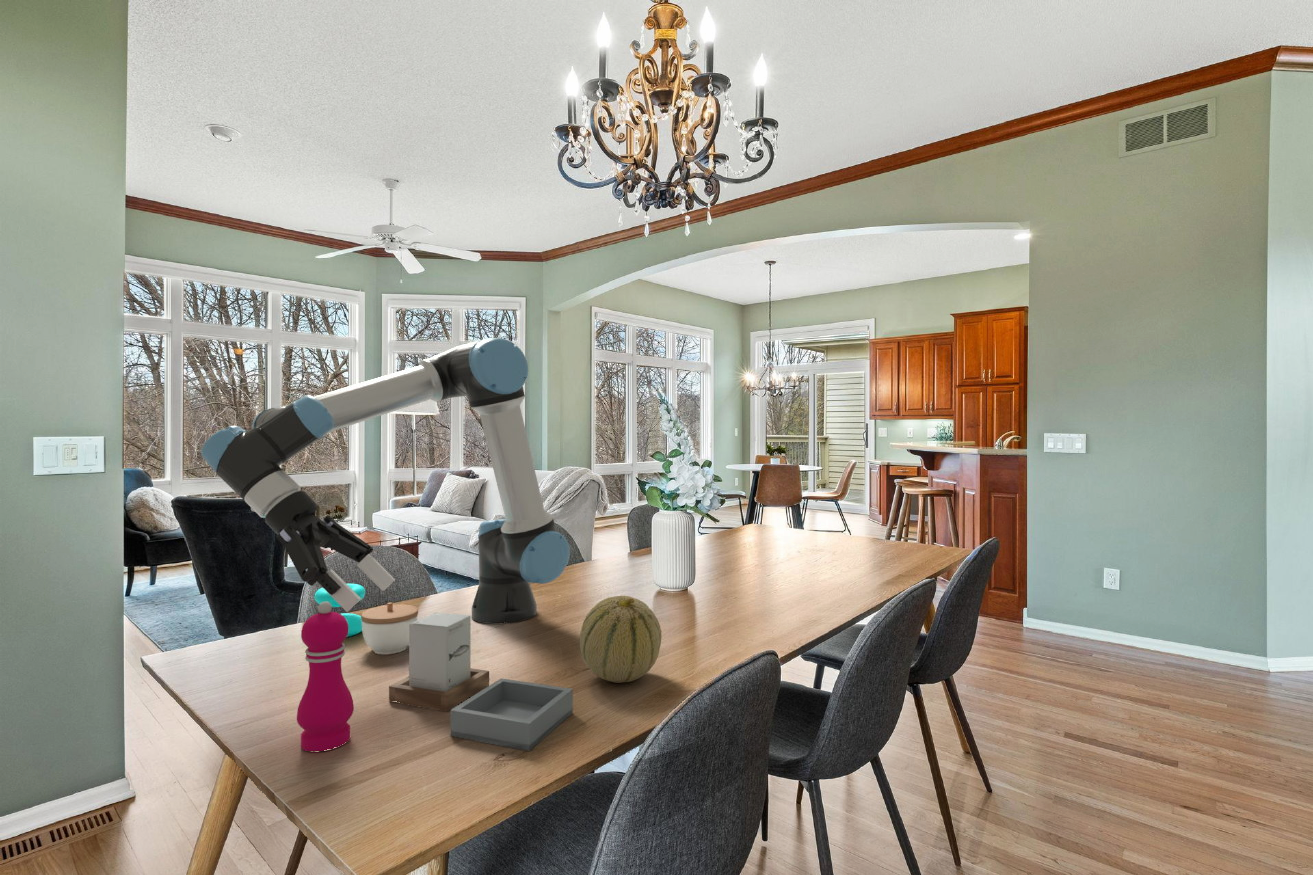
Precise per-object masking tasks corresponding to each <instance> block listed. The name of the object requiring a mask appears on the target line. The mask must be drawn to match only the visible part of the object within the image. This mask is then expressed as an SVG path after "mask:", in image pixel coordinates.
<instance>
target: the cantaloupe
mask: <svg viewBox="0 0 1313 875" xmlns="http://www.w3.org/2000/svg"><path fill="white" fill-rule="evenodd" d="M661 628H662V627H661V624H660V622H659V620H658V618H657V617H656V615H655V612H654V611H653V610H652V609H651V608H650V607H649V606H648V605H647V604H646V603H645V602H644V601H642V600H640V599H639V598H636V597H633V596H629V595H617V596H615V595H614V596H609V597H607V598H604V599H603V600H601V601H599V602H598V603H596V604H595V606H593V607H591V609H590V611H589V612H588V613H587V614H586V616H585V618H584V620H583V623H582V626H581V630H580V634H579V648H580V649H579V650H580V653H581V656H582V659H583V661H584V662H585V664H586V665H587V667H588V668H589V669H590V671H591V672H592V673H593V674H595V675H596V677H598V678H600V679H602V680H604V681H607V682H613V683H618V684H622V683H630V682H632V681H636V680H638V679H640V678H641V677H643V676H645V675H646V674H647V673H649V671H650V670H651V669H652V668H653V667H654V665H655V664H656V661H657V659H658V657H659V653H660V648H661V644H662V629H661Z"/></svg>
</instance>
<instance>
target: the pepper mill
mask: <svg viewBox="0 0 1313 875" xmlns="http://www.w3.org/2000/svg"><path fill="white" fill-rule="evenodd" d="M332 608H333V607H332V605H331V603H329V602H322V603H321V604H318V606H317V609H318V612H317V613H316V614H313V615H312V616H310V617H309V618H308V619H306V620H305V622H304V623H303V625H302V628H301V630H300V631H301V632H300V633H301V635H300V638H301V640H302V643H303V644H304V645H306V647H307V648H306V649H305V651H304V653H305V658H304V659H305V661H306V662H308V664H309V665H308V666H309V667H308V668H309V670H308V671H309V672H308V674H309V675H308V681H307V685H306V687H305V689H304V692H303V695H302V696H301V699H300V701H299V704H298V707H297V713H296V722H297V724H298V726H299V727H300V728H301V729H303V731H302V732H301V734H300V748H301V747H302V748H301V749H302V750H303V749H304V750H306V751H305V752H307V751H324V750H327V749H333V748H334V747H338V746H340V745H342V744H344V743H345V742H347V741H348V740H349V741H350V739H351V725H350V724H349V723H348V721H349V720H350V718H351V717H353V716H352V715H353V713H354V709H355V705H354V700H353V697H352V693H351V691H350V690H349V687H348V686H347V683H346V681H345V679H344V676H343V670H342V660H343V657H344V656H345V655H346V652H345V648H346V645H345V644H344V641H345V640H346V639H347V638H348V637H347V635H348V630H349V629H348V623H347V620H346V619H345V617H344V616H343V615H341V614H342V613H339V612H336V611H332V610H333V609H332ZM349 741H348V742H349ZM348 742H347V743H348ZM344 745H345V744H344ZM304 750H303V751H304ZM333 750H334V749H333Z"/></svg>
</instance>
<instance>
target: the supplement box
mask: <svg viewBox="0 0 1313 875" xmlns="http://www.w3.org/2000/svg"><path fill="white" fill-rule="evenodd" d="M471 619H472V615H470V614H459V613H458V614H457V613H447V612H434V613H431V614H429V615H427V616H424V617H422V618H419V619H418V620H417V621H415V622H413V623H410V624H409V645H408V646H409V648H408V649H409V650H408V652H409V654H408V656H409V658H408V660H409V662H408V666H409V667H408V670H409V672H408V673H409V674H408V675H409V686H412V687H418V688H424V689H431V690H437V691H443V692H447V691H448V690H450V689H452V688H453V687H455V686H457V685H459V684H460V683H462V682H464V681H465V680H467V679H469V678H470V668H471V652H472V651H471V648H472V647H471V636H472V635H471V629H472V628H471Z"/></svg>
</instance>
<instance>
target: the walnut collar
mask: <svg viewBox="0 0 1313 875" xmlns="http://www.w3.org/2000/svg"><path fill="white" fill-rule="evenodd" d="M488 686H490V670H486V669H480V668H479V669H478V668H473V667H470V678H469V679H467V680H465V681H464V682H462V683H460V684H459V685H457V686H455V687H453V688H452V689H450V690H448V691H447V692H443V691H437V690H431V689H424V688H418V687H412V686H409V676H406V677H404V678H402V679H400V680H399V681H396V682H395V683H393V684H391V685H389V686H388V701H389V700H390V701H397V702H400V703H403V704H402V705H406V704H409V705H408V706H412V705H413V707H418V706H420V707H419V708H423V707H425V708H426V709H429V708H430V709H431V710H434V711H435V710H436V711H441V710H442V712H446V713H448V712H449V711H451V710H452V709H453V708H455V707H456V706H458V704H459V705H460V704H461V702H462V703H463V702H464V701H466V699H469V697H470V698H471V697H472V696H474V695H475V694H477V693H479V692H480V691H482V690H483V689H485V688H487V687H488ZM400 703H399V704H400ZM425 708H424V709H425Z"/></svg>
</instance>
